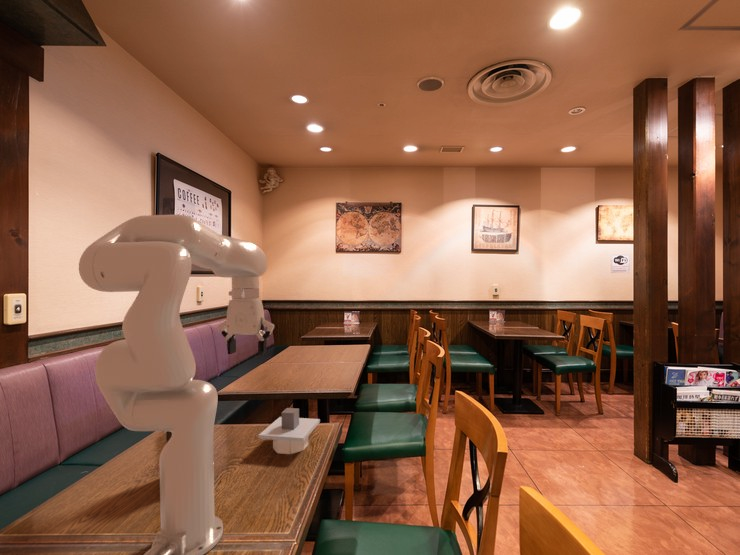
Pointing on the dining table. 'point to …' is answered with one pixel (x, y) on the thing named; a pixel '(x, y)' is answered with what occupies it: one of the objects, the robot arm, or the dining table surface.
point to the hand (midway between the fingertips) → (246, 353)
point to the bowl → (289, 446)
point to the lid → (290, 427)
